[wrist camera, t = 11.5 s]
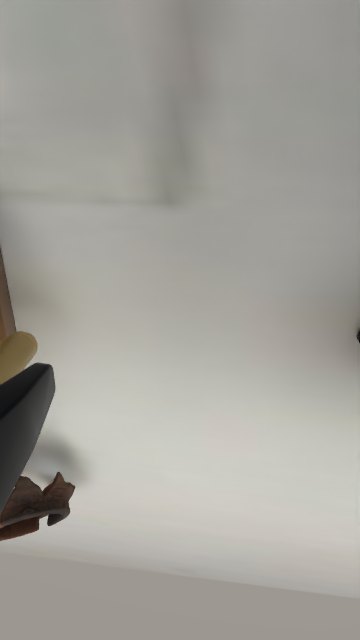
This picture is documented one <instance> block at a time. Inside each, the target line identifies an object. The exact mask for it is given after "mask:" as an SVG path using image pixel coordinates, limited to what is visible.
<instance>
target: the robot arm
mask: <svg viewBox="0 0 360 640" xmlns="http://www.w3.org/2000/svg"><path fill="white" fill-rule="evenodd" d="M357 339H358V341H359V343H360V332H359V333H358V334H357ZM54 393H55V379H54V372H53V367H52V366H51V365H50V364H44V363H35V364H33V365H31V366H30V367H28V368H27V369H25V370H23V371H22V372H20V373H18V374H17V375H15V376H14V377H12V378H10V379H9V380H7V381H5V382H4V383H2V384H1V385H0V515H1V513H2V511H3V509H4V507H5V505H6V503H7V501H8V499H9V497H10V495H11V493H12V491H13V489H14V487H15V485H16V483H17V481H18V479H19V477H20V475H21V473H22V471H23V469H24V467H25V465H26V463H27V461H28V459H29V457H30V455H31V453H32V451H33V449H34V447H35V444H36V442H37V439H38V437H39V434H40V431H41V429H42V426H43V423H44V421H45V418H46V415H47V413H48V410H49V407H50V404H51V402H52V399H53V396H54Z"/></svg>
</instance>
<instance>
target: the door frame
mask: <svg viewBox="0 0 360 640" xmlns="http://www.w3.org/2000/svg"><path fill="white" fill-rule="evenodd" d="M15 332H16V329H15V323H14V318H13V313H12V308H11V302H10V297H9V292H8V287H7V282H6V276H5V271H4V266H3V261H2V255H1V250H0V340H6V338H7V337H8V336H10V335H11V334H12V333H15Z"/></svg>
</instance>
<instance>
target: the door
mask: <svg viewBox="0 0 360 640" xmlns="http://www.w3.org/2000/svg"><path fill="white" fill-rule="evenodd" d="M36 351H37V341H36V339H35V337H34V336H33V335H31V334H30V333H28V332H24V331H19V332H15V333H12V334H11V335H10V336H8V337H7V338H6V340H0V385H1V384H2V383H4V382H5V381H7V380H9V379H10V378H12V377H14V376H15V375H17V374H18V373H20V372H22V371H23V370H24V368H25V367H26V366H27V364H28V363H29V362H30V360H31V359H32V358H33V356H34V355H35V353H36Z"/></svg>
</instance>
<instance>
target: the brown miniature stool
mask: <svg viewBox="0 0 360 640" xmlns="http://www.w3.org/2000/svg"><path fill="white" fill-rule="evenodd" d="M74 490H75V486H74V485H72V484H71V483H66V482H65V481H64V479H63V477H62V475H61V473H60V472H58V473H57V475H56V477H55V479H54V481H53V483H52V484H50V485H48V486H47V487H46V488H45V489H44V490H43V491H42V490H41V488H40V487H39V486H38V485H36V484H35V483H33V482H32V481H31V480H30V479H29V478H28V477H24V476H20V477H19V479H18V481H17V483H16V485H15V488H14V489H13V491H12V493H11V495H10V497H9V499H8V501H7V503H6V505H5V507H4V509H3V511H2V513H1V515H0V541H2V540H7V539H11V538H15V537H19V536H22V535H25V534H29V533H32V532H35V531H37V530H39V519H40V518H42V517H45V516H47V515H49V516H48V521H47V525H48V526H51V525H53V524H56V523H57V522H59V521H61V520H63V519H64V518H66V517H67V516H68V515H69V514H70V508H69V502H68V501H69V499H70V498H71V496H72V494H73V492H74Z"/></svg>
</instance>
